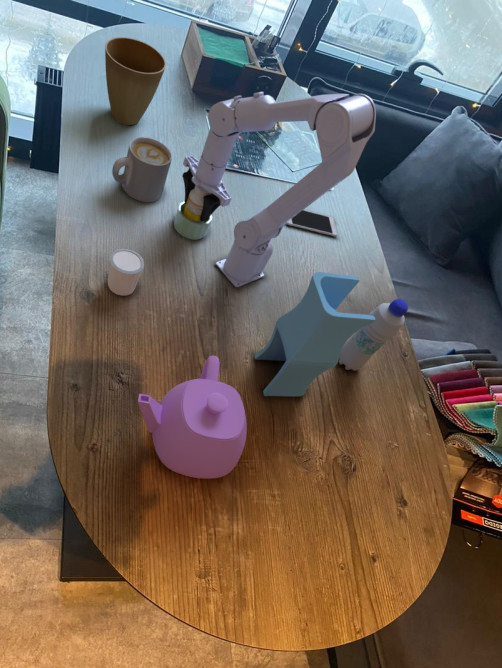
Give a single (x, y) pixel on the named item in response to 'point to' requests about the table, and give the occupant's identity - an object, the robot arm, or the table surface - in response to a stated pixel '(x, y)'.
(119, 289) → the white round canister
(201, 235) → the cup
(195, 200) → the supplement bottle
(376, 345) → the bottle
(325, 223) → the smartphone
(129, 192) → the coffee mug
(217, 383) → the teapot
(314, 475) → the table surface
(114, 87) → the plant pot
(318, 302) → the blue tall flared piece
